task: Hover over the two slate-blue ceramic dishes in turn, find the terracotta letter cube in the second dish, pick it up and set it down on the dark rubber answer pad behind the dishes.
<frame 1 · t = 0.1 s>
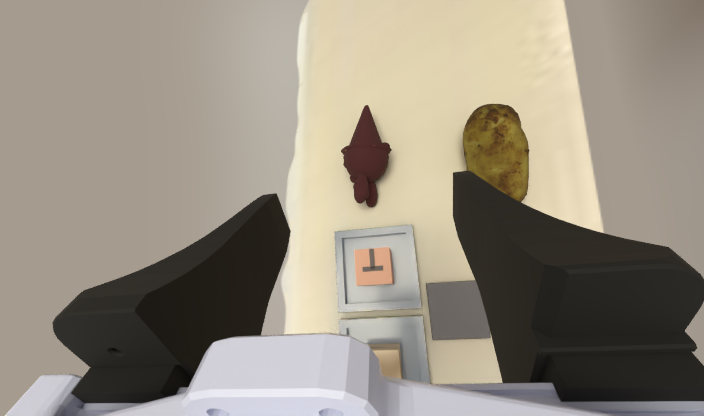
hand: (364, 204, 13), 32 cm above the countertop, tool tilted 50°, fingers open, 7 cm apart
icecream: (368, 164, 48), on the countertop
dish b: (376, 268, 43), on the countertop
potato: (487, 168, 44), on the countertop
answer pad: (456, 309, 40), on the countertop
dish a: (384, 361, 40), on the countertop
plain cube: (384, 362, 40), resting on dish a
letter cube: (376, 268, 43), resting on dish b
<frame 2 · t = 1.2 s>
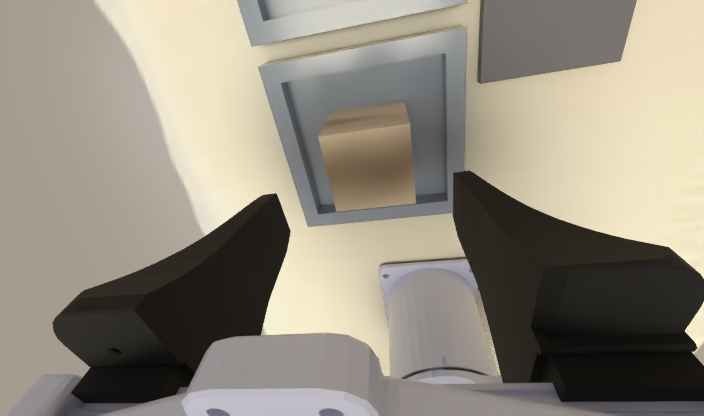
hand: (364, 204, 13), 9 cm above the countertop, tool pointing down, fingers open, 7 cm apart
dish a: (372, 138, 20), on the countertop
plain cube: (371, 140, 20), resting on dish a
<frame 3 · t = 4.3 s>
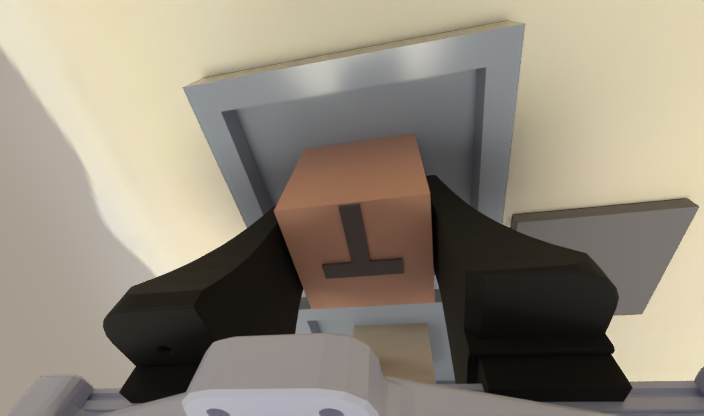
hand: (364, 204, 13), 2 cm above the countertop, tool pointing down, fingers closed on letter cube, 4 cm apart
dish b: (366, 184, 14), on the countertop
answer pad: (578, 263, 16), on the countertop
dish a: (393, 340, 20), on the countertop
plain cube: (393, 345, 20), resting on dish a
letter cube: (366, 189, 14), resting on dish b, touching gripper
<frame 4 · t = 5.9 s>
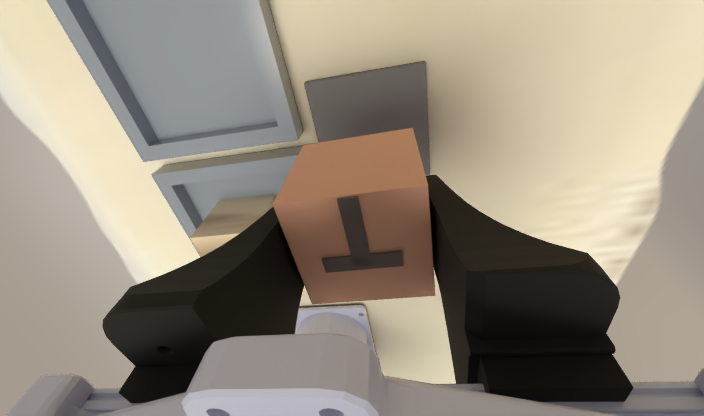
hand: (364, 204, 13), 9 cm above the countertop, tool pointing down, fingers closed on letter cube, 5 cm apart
dish b: (190, 55, 18), on the countertop
answer pad: (371, 128, 20), on the countertop
dish a: (258, 218, 25), on the countertop
plain cube: (257, 220, 24), resting on dish a
letter cube: (365, 184, 14), point 8 cm above the countertop, touching gripper
when the fingers open (3 cm above the countertop, at t = 7.5 s): letter cube drops 1 cm, resting on answer pad.
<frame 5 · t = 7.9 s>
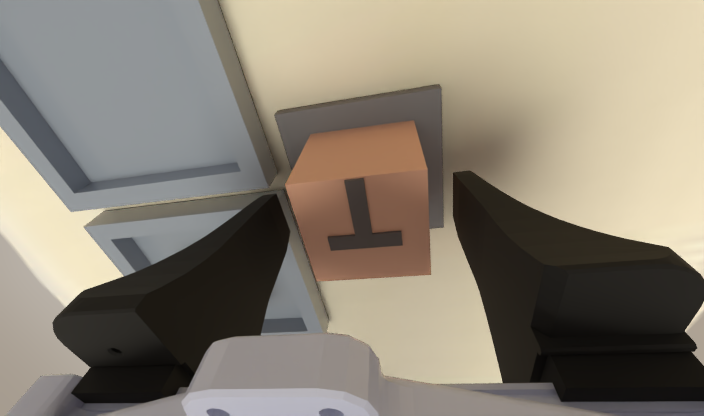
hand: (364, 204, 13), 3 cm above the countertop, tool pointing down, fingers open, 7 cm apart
dish b: (120, 76, 13), on the countertop
answer pad: (367, 170, 15), on the countertop
dish a: (228, 271, 20), on the countertop
letter cube: (367, 173, 15), point 1 cm above the countertop, touching answer pad
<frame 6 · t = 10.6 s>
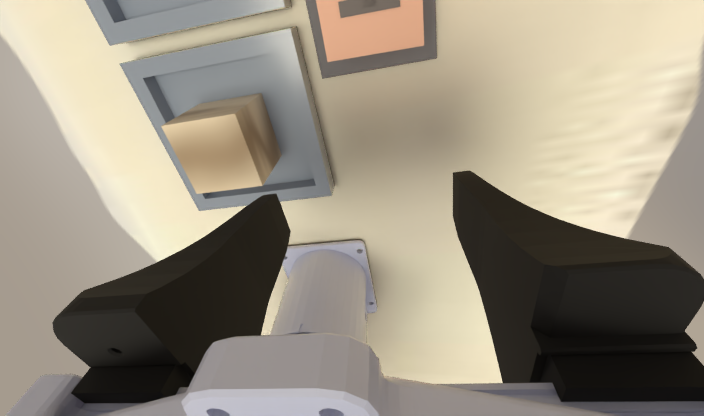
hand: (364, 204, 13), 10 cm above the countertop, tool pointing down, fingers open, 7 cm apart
answer pad: (369, 0, 17), on the countertop
dish a: (244, 128, 22), on the countertop
plain cube: (242, 130, 22), resting on dish a
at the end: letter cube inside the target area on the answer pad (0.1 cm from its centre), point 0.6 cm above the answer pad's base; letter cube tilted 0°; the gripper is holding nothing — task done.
